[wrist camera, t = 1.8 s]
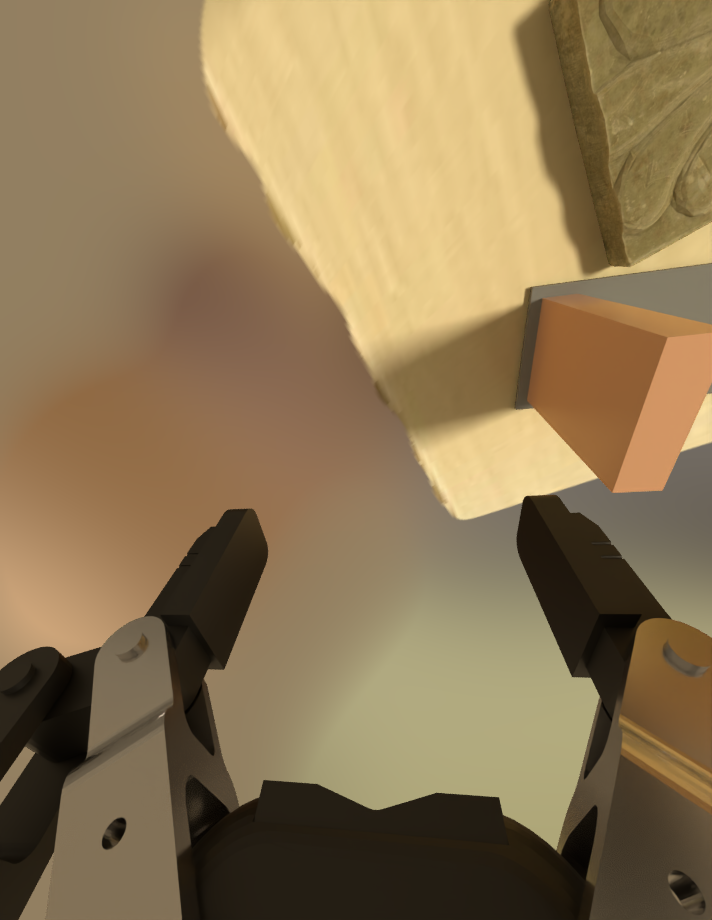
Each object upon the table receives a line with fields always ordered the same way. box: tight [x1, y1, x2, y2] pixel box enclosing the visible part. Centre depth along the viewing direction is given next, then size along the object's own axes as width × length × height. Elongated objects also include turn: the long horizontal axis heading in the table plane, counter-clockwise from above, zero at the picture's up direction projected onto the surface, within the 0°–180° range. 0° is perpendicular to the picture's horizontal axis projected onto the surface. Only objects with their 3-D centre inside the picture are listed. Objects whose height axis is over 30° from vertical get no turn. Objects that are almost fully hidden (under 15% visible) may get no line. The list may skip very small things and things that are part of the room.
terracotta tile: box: [527, 294, 712, 493], centre depth 26 cm, size 10×3×16 cm, turn 8°
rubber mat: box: [515, 263, 712, 410], centre depth 32 cm, size 12×21×1 cm, turn 97°
